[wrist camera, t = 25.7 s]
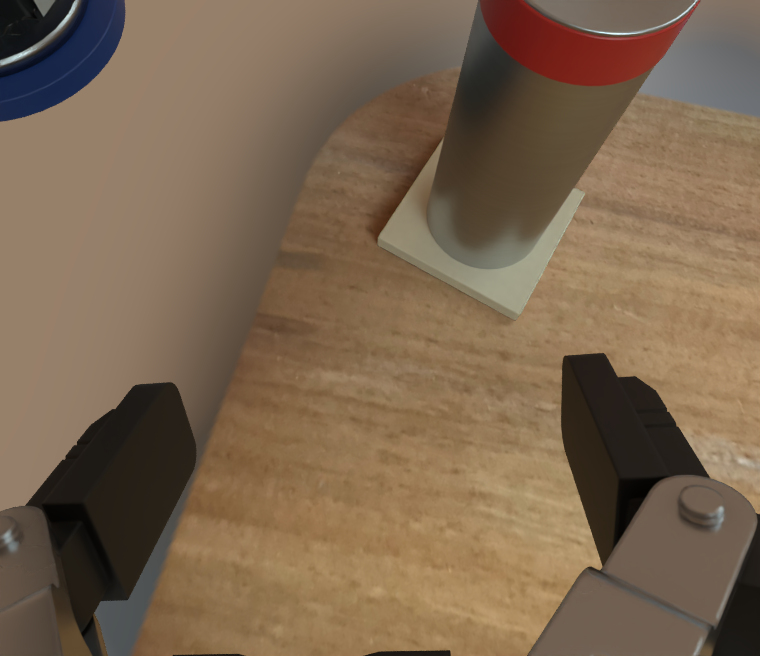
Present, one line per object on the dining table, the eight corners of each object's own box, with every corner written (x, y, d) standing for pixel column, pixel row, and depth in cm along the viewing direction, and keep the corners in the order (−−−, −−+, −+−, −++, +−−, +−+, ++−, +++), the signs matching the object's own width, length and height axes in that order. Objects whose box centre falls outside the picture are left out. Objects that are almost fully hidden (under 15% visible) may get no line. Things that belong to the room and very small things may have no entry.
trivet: (376, 245, 27) (377, 236, 26) (449, 134, 29) (451, 123, 28) (515, 321, 26) (520, 315, 25) (579, 201, 28) (585, 192, 27)
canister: (403, 233, 26) (454, -30, 14) (460, 147, 28) (550, -157, 16) (510, 292, 26) (663, 71, 13) (562, 200, 27) (740, -72, 15)
